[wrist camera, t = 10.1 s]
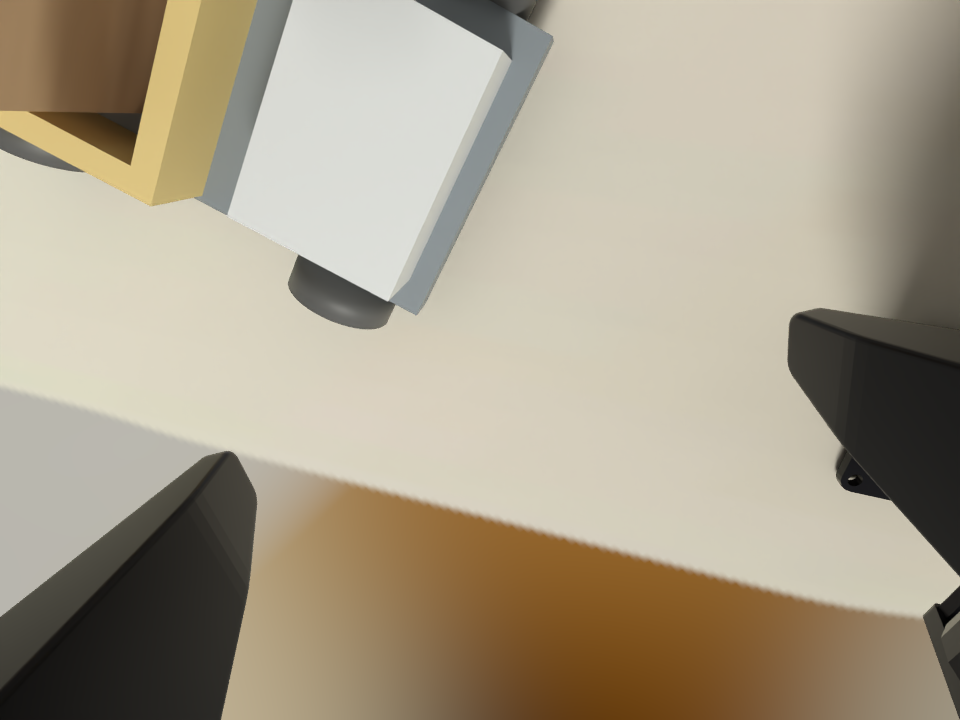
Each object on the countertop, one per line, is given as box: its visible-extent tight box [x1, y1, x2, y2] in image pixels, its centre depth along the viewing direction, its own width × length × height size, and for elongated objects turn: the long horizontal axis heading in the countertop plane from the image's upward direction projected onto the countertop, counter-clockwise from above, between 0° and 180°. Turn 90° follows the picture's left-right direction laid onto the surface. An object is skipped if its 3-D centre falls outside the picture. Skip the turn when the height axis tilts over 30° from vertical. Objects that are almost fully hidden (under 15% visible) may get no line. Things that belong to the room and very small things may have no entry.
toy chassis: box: [0, 0, 554, 329], centre depth 17 cm, size 16×11×5 cm
